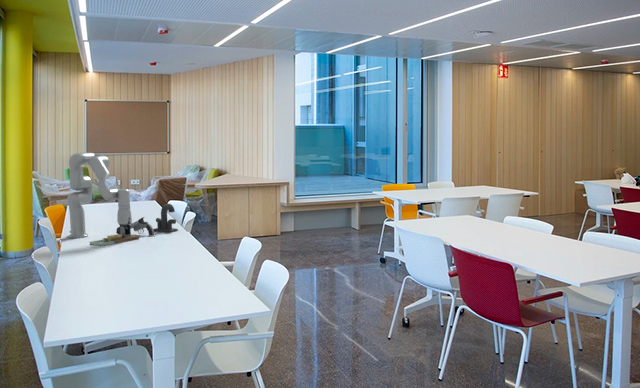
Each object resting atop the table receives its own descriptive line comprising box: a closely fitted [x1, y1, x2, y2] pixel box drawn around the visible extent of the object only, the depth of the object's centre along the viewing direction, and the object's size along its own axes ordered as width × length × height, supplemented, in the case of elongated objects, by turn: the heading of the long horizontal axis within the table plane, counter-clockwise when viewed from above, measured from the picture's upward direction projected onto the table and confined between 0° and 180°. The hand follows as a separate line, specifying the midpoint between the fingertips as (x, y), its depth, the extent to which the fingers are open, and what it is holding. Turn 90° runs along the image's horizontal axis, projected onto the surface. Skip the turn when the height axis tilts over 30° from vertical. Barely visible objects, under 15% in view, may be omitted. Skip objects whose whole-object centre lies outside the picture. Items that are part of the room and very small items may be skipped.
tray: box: [89, 238, 116, 247], centre depth 364 cm, size 11×11×2 cm
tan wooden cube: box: [106, 234, 117, 242], centre depth 370 cm, size 4×4×4 cm
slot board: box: [102, 234, 140, 244], centre depth 376 cm, size 14×18×2 cm
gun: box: [115, 216, 155, 237], centre depth 397 cm, size 5×27×15 cm, turn 77°
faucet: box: [153, 203, 179, 234], centre depth 414 cm, size 18×16×20 cm
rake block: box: [119, 224, 132, 238], centre depth 378 cm, size 4×5×11 cm
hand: (125, 233), depth 379 cm, fingers closed on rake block, 4 cm apart
